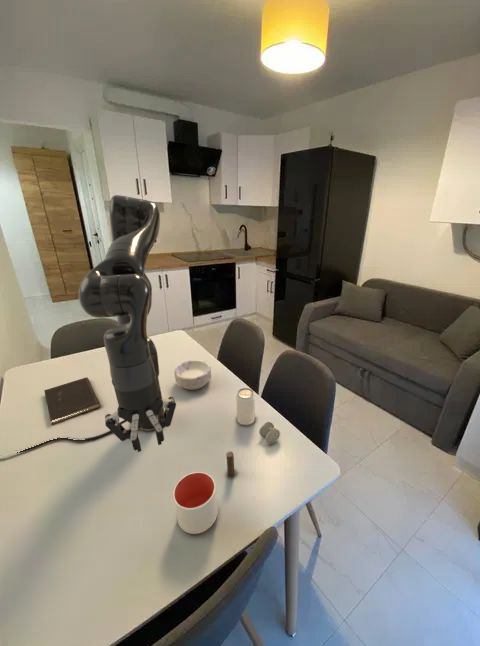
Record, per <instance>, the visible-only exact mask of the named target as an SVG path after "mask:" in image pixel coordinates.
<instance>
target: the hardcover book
mask: <svg viewBox="0 0 480 646" xmlns="http://www.w3.org/2000/svg"><path fill="white" fill-rule="evenodd" d="M44 396H45V403H46V407H47V411H48V416H49V421H50V422H51V421H52V420H55V419H58V418H62V417H65V416H68V415H71V414H74V413H77V412H79V413H77V414H74V415H71V416H68V417H66V418H63V419H60V420H58V421H55V422H52V423H51V426H54V425H56V424H60V423H62V422H65V421H67V420H70V419H72V418H76V417H78V416H80V415H84V414H86V413H89V412H92V411H94V410H97V409H100V408H101V403H100V401H99V399H98V397H97V394H96V391H95V390H94V387H93V386H92V383H91V382H90V379H89V377H82V378H80V379H77V380H73V381H70V382H67V383H64V384H63V383H62V384H60V385H56V386H54V387H51V388H47V389H44ZM87 409H88V410H87ZM84 410H85V411H84ZM80 411H82V412H80Z"/></svg>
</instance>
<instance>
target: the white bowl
mask: <svg viewBox="0 0 480 646" xmlns="http://www.w3.org/2000/svg"><path fill="white" fill-rule="evenodd" d="M173 372H174V379H175V383H176V384H177V386H178V387H181V388H184V389H186V390H189V391H195V390H199V389H202V388H203V387H204V386H206V385H207V384H208V383H209V382H210V381H211V379H212V367H211V365H210V363H208V362H207V361H205V360H201V359H190V360H187V361H183V362H181V363H179V364H178V365H177V366H176V367H175V369H174V371H173Z"/></svg>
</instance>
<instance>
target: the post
mask: <svg viewBox="0 0 480 646" xmlns="http://www.w3.org/2000/svg"><path fill="white" fill-rule="evenodd" d="M225 456H226V468H227V470H226V471H227V477H229V478H233V477H234V476H235V474H236V473H235V457H234V456H235V455H234V452H233V451H228V452H226V454H225Z"/></svg>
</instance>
